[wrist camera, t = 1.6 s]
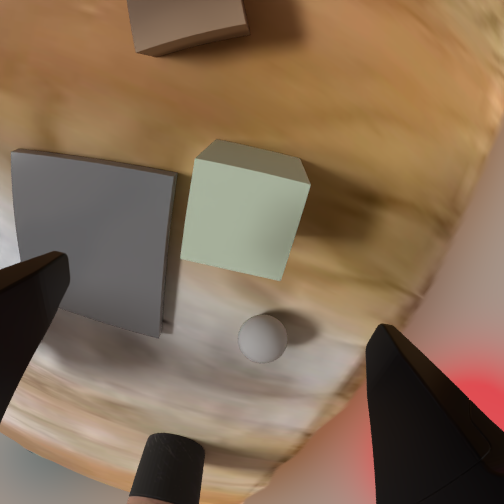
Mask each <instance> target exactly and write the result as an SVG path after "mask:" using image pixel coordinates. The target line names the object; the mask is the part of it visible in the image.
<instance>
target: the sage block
mask: <svg viewBox="0 0 504 504" xmlns="http://www.w3.org/2000/svg"><path fill="white" fill-rule="evenodd" d="M310 186H311V184H310V182H309V179H308V177H307V174H306V172H305V169H304V167H303V165H302V162H301V160H300V158H296V157H293V156H289V155H285V154H281V153H277V152H273V151H268V150H264V149H260V148H255V147H251V146H247V145H242V144H237V143H233V142H228V141H223V140H218V139H216V140H215V141H214V142H212V143H211V144H210V145H209V146H208V147H207V148H206V149H205V150H204V151H203V152H201V153H200V154H199V155H198V156H197V157H196V158H195V162H194V168H193V174H192V180H191V186H190V192H189V199H188V205H187V212H186V219H185V226H184V233H183V241H182V248H181V256H180V259H184V260H188V261H192V262H197V263H201V264H206V265H210V266H214V267H219V268H223V269H228V270H232V271H237V272H241V273H246V274H250V275H255V276H260V277H264V278H269V279H273V280H278V281H281V278H282V275H283V272H284V269H285V266H286V263H287V260H288V257H289V253H290V250H291V247H292V244H293V241H294V238H295V235H296V231H297V228H298V225H299V222H300V219H301V215H302V212H303V209H304V206H305V202H306V199H307V196H308V192H309V189H310Z"/></svg>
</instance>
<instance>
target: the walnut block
mask: <svg viewBox="0 0 504 504" xmlns="http://www.w3.org/2000/svg"><path fill="white" fill-rule="evenodd" d="M127 5H128V12H129V18H130V24H131V29H132V35H133V41H134V46H135V51H136V53H140V54H144V55H149V56H153V57H159V56H162V55H166V54H169V53H172V52H176V51H179V50H183V49H187V48H191V47H195V46H199V45H203V44H207V43H211V42H216V41H220V40H225V39H230V38H235V37H241V36H246V35H250V31H249V26H248V21H247V17H246V12H245V7H244V3H243V0H127Z"/></svg>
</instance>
